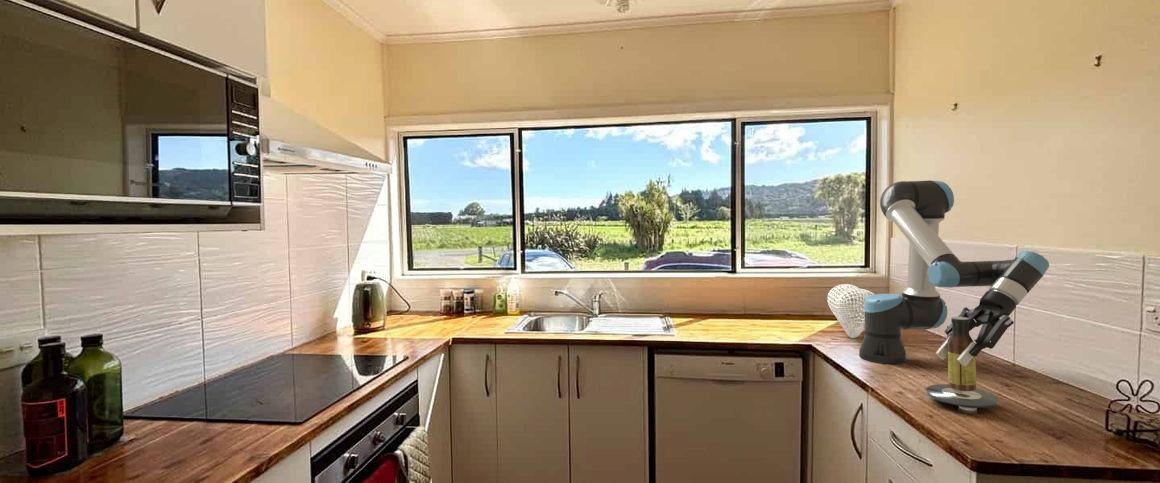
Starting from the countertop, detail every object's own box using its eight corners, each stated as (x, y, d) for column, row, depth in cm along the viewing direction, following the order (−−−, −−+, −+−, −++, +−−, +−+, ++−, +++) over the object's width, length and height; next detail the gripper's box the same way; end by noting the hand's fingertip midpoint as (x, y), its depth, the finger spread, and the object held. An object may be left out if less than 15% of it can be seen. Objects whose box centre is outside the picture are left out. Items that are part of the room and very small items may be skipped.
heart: (822, 330, 236) (822, 282, 235) (858, 330, 234) (858, 282, 233) (845, 346, 209) (845, 291, 208) (886, 346, 207) (887, 291, 206)
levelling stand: (912, 396, 151) (912, 386, 151) (961, 392, 153) (961, 382, 153) (960, 417, 135) (961, 405, 135) (1013, 412, 138) (1014, 401, 137)
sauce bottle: (977, 387, 144) (978, 317, 143) (974, 394, 140) (976, 321, 138) (948, 382, 149) (949, 314, 147) (945, 388, 144) (946, 318, 143)
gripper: (1045, 313, 136) (990, 379, 134) (979, 301, 155) (930, 359, 153) (1028, 294, 135) (973, 360, 133) (963, 284, 154) (914, 342, 152)
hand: (950, 359), depth 143 cm, fingers closed on sauce bottle, 6 cm apart
